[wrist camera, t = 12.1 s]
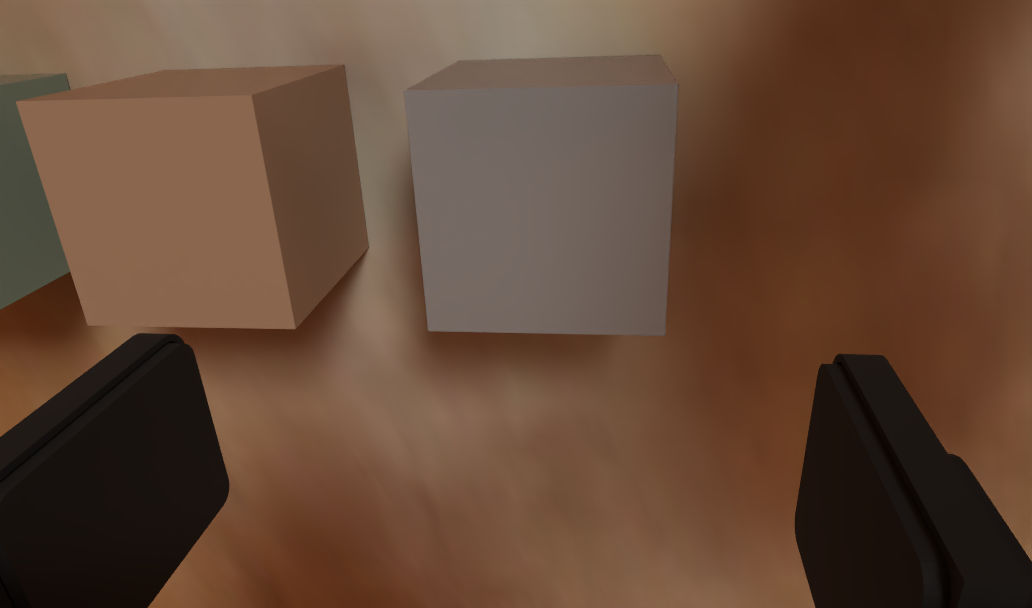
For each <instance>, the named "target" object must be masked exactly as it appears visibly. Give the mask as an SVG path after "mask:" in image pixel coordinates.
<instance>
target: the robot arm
mask: <svg viewBox="0 0 1032 608" xmlns="http://www.w3.org/2000/svg"><path fill="white" fill-rule="evenodd" d="M228 493H229V479H228V475H227V472H226V468H225V464H224V461H223V457H222V453H221V450H220V446H219V442H218V439H217V435H216V431H215V428H214V424H213V420H212V417H211V413H210V409H209V406H208V402H207V398H206V395H205V391H204V387H203V384H202V380H201V376H200V373H199V369H198V365H197V362H196V358H195V354H194V352H193V349H192V348H191V347H190V346H189V345H187V344H184V341H183V340H182V339H181V338H180V337H179V336H177V335H175V334H147V333H140V334H136V335H134V336H133V337H131V338H130V339H129V340H127V341H126V342H125V343H123V344H122V345H121V346H119V347H118V348H117V349H115V350H114V351H113V352H112V353H110V354H109V355H108V356H106V357H105V358H104V359H102V360H101V361H100V362H98V363H97V364H96V365H94V366H93V367H92V368H90V369H89V370H88V371H87V372H85V373H84V374H83V375H81V376H80V377H79V378H77V379H76V380H75V381H73V382H72V383H71V384H69V385H68V386H67V387H66V388H64V389H63V390H62V391H60V392H59V393H58V394H56V395H55V396H54V397H52V398H51V399H50V400H48V401H47V402H46V403H44V404H43V405H42V406H41V407H39V408H38V409H37V410H35V411H34V412H33V413H31V414H30V415H29V416H27V417H26V418H25V419H23V420H22V421H21V422H20V423H18V424H17V425H16V426H14V427H13V428H12V429H10V430H9V431H8V432H6V433H5V434H4V435H2V436H1V437H0V608H148V606H149V605H150V604H151V602H152V601H153V600H154V598H155V597H156V596H157V594H158V593H159V592H160V590H161V589H162V588H163V586H164V585H165V583H166V582H167V581H168V579H169V578H170V577H171V575H172V574H173V573H174V571H175V570H176V569H177V567H178V566H179V565H180V563H181V562H182V561H183V559H184V558H185V557H186V555H187V554H188V552H189V551H190V550H191V548H192V547H193V546H194V544H195V543H196V542H197V540H198V539H199V538H200V536H201V535H202V534H203V532H204V531H205V530H206V528H207V527H208V526H209V524H210V523H211V521H212V520H213V519H214V517H215V516H216V515H217V513H218V512H219V511H220V509H221V508H222V507H223V505H224V503H225V502H226V499H227V497H228ZM795 535H796V541H797V545H798V549H799V552H800V555H801V559H802V562H803V566H804V569H805V573H806V576H807V580H808V583H809V587H810V590H811V594H812V597H813V601H814V604H815V608H1032V561H1031V560H1030V558H1029V557H1028V555H1027V554H1026V552H1025V551H1024V550H1023V548H1022V547H1021V545H1020V544H1019V542H1018V541H1017V539H1016V538H1015V536H1014V535H1013V533H1012V532H1011V530H1010V529H1009V527H1008V526H1007V524H1006V523H1005V521H1004V520H1003V518H1002V517H1001V515H1000V514H999V512H998V511H997V509H996V508H995V506H994V505H993V503H992V502H991V500H990V499H989V497H988V496H987V494H986V493H985V491H984V490H983V488H982V487H981V485H980V484H979V482H978V481H977V479H976V478H975V476H974V475H973V473H972V472H971V470H970V469H969V467H968V466H967V464H966V463H965V462H964V461H963V460H962V459H961V458H960V457H959V456H956V455H953V454H947V452H946V450H945V449H944V447H943V446H942V444H941V443H940V441H939V440H938V438H937V437H936V435H935V433H934V432H933V430H932V429H931V427H930V426H929V424H928V423H927V421H926V419H925V418H924V416H923V415H922V413H921V412H920V410H919V409H918V407H917V405H916V404H915V402H914V401H913V399H912V398H911V396H910V395H909V393H908V392H907V390H906V388H905V387H904V385H903V384H902V382H901V381H900V379H899V378H898V376H897V374H896V373H895V371H894V370H893V368H892V367H891V365H890V364H889V362H888V360H887V359H886V358H885V357H884V356H882V355H856V354H838V355H837V356H836V357H835V359H834V361H833V364H822V365H821V366H820V368H819V371H818V376H817V382H816V388H815V394H814V401H813V407H812V413H811V419H810V426H809V432H808V438H807V444H806V451H805V457H804V463H803V470H802V476H801V482H800V488H799V495H798V501H797V507H796V513H795Z"/></svg>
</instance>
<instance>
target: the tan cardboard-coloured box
mask: <svg viewBox="0 0 1032 608" xmlns="http://www.w3.org/2000/svg"><path fill="white" fill-rule="evenodd" d="M16 104H17V107H18V110H19V114H20V117H21V120H22V123H23V126H24V129H25V132H26V135H27V138H28V141H29V145H30V148H31V151H32V154H33V157H34V160H35V163H36V166H37V169H38V173H39V176H40V179H41V182H42V185H43V188H44V191H45V194H46V197H47V200H48V204H49V207H50V210H51V213H52V216H53V219H54V222H55V225H56V228H57V232H58V235H59V238H60V241H61V244H62V247H63V250H64V253H65V256H66V259H67V263H68V266H69V269H70V272H71V275H72V278H73V281H74V284H75V287H76V291H77V294H78V297H79V300H80V303H81V306H82V309H83V312H84V315H85V319H86V322H87V325H88V326H140V327H197V328H255V329H296V328H297V327H298V326H299V325H300V324H301V323H302V322H303V320H304V319H305V318H306V317H307V316H308V315H309V314H310V313H311V312H312V310H313V309H314V308H315V307H316V306H317V305H318V304H319V303H320V301H321V300H322V299H323V298H324V297H325V296H326V295H327V294H328V293H329V291H330V290H331V289H332V288H333V287H334V286H335V285H336V284H337V282H338V281H339V280H340V279H341V278H342V277H343V276H344V275H345V274H346V272H347V271H348V270H349V269H350V268H351V267H352V266H353V265H354V264H355V262H356V261H357V260H358V259H359V258H360V257H361V256H362V255H363V253H364V252H365V251H366V250H367V249H368V248H369V244H368V237H367V229H366V222H365V214H364V207H363V200H362V192H361V185H360V177H359V170H358V162H357V155H356V147H355V140H354V133H353V125H352V118H351V110H350V103H349V95H348V88H347V80H346V73H345V66H344V65H317V66H286V67H254V68H223V69H191V70H164V71H159V72H154V73H149V74H144V75H140V76H135V77H130V78H125V79H121V80H116V81H111V82H106V83H101V84H97V85H92V86H87V87H82V88H78V89H73V90H68V91H63V92H58V93H54V94H49V95H44V96H39V97H35V98H30V99H25V100H20V101H16Z"/></svg>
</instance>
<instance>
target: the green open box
mask: <svg viewBox="0 0 1032 608" xmlns="http://www.w3.org/2000/svg"><path fill="white" fill-rule="evenodd" d="M68 90H70V88H69V84H68V81H67V77H66V74H34V75H3V76H0V309H2V308H4V307H6V306H8V305H10V304H11V303H13V302H15V301H17V300H19V299H21V298H23V297H24V296H26V295H28V294H30V293H32V292H34V291H35V290H37V289H39V288H41V287H43V286H45V285H46V284H48V283H50V282H52V281H54V280H56V279H57V278H59V277H61V276H63V275H65V274H67V273H68V272H70V269H69V266H68V263H67V259H66V256H65V253H64V250H63V247H62V244H61V241H60V238H59V235H58V232H57V228H56V225H55V222H54V219H53V216H52V213H51V210H50V207H49V204H48V200H47V197H46V194H45V191H44V188H43V185H42V182H41V179H40V176H39V173H38V169H37V166H36V163H35V160H34V157H33V154H32V151H31V148H30V145H29V141H28V138H27V135H26V132H25V129H24V126H23V123H22V120H21V117H20V114H19V110H18V107H17V104H16V101H20V100H25V99H30V98H35V97H39V96H44V95H49V94H54V93H58V92H63V91H68Z"/></svg>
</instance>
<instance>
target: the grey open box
mask: <svg viewBox="0 0 1032 608" xmlns="http://www.w3.org/2000/svg"><path fill="white" fill-rule="evenodd" d="M678 85H679V84H678V83H677V81H676V79H675V78H674V76H673V75H672V73H671V71H670V70H669V68H668V67H667V65H666V63H665V62H664V60H663V59H662V57H661V55H640V56H606V57H571V58H536V59H501V60H467V61H457V62H456V63H454V64H452V65H450V66H448V67H446V68H445V69H443V70H441V71H439V72H437V73H435V74H434V75H432V76H430V77H428V78H426V79H424V80H423V81H421V82H419V83H417V84H415V85H413V86H412V87H410V88H408V89H406V90H404V95H405V105H406V115H407V125H408V135H409V145H410V155H411V165H412V175H413V185H414V195H415V205H416V215H417V225H418V235H419V245H420V255H421V265H422V274H423V284H424V294H425V304H426V314H427V324H428V331H443V332H493V333H543V334H593V335H643V336H665V330H666V311H667V292H668V273H669V254H670V236H671V217H672V198H673V179H674V160H675V141H676V123H677V104H678Z"/></svg>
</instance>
